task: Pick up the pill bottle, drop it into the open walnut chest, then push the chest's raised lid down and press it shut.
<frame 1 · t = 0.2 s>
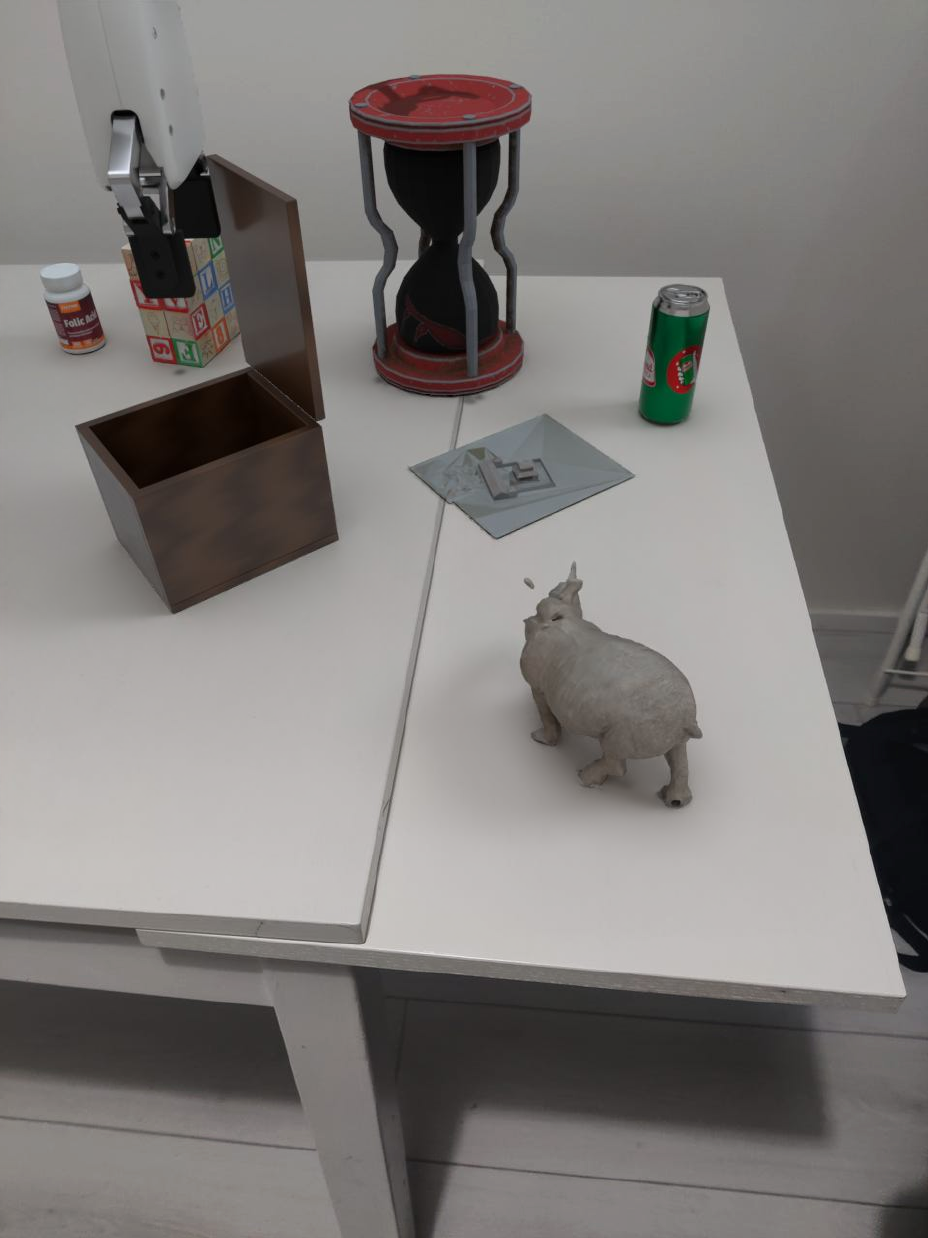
hand: (186, 264, 59), 22 cm above the table, tool pointing down, fingers open, 9 cm apart
soda can: (663, 415, 85), on the table
hourglass: (448, 360, 94), on the table
grey flat relief plate: (492, 503, 76), on the table
stack of blocks: (224, 322, 101), on the table
chest: (227, 538, 73), on the table
lid: (267, 291, 62), point 19 cm above the table, hinge at 90.8°
rhinoceros figurine: (587, 723, 58), on the table
pill bottle: (85, 346, 98), on the table
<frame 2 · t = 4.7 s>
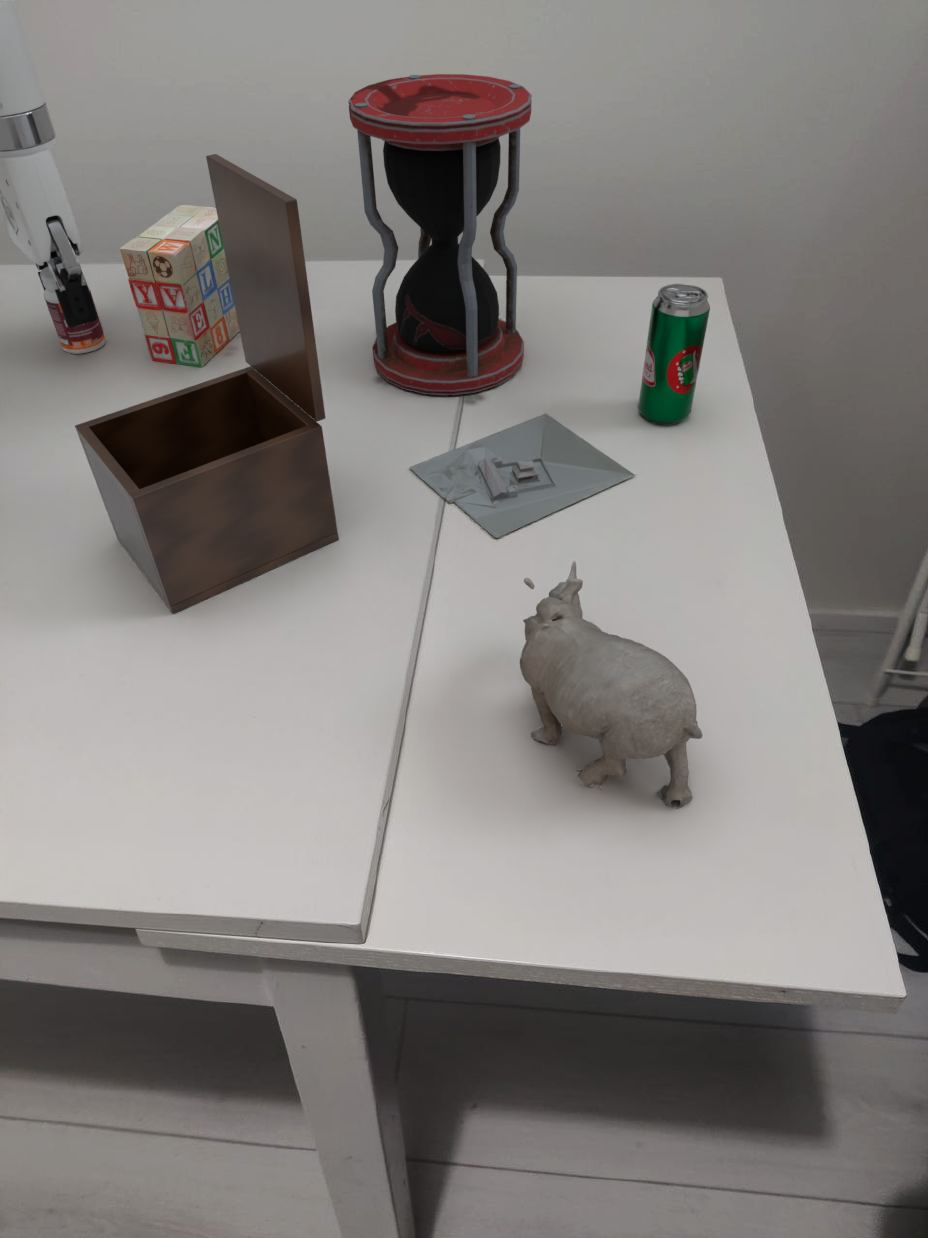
hand: (73, 311, 95), 4 cm above the table, tool pointing down, fingers closed on pill bottle, 4 cm apart
pill bottle: (85, 346, 98), on the table, touching gripper
everything else where it was.
when the fingers open (12 cm above the table, at t = 11.8 s): pill bottle drops 7 cm, resting on chest.
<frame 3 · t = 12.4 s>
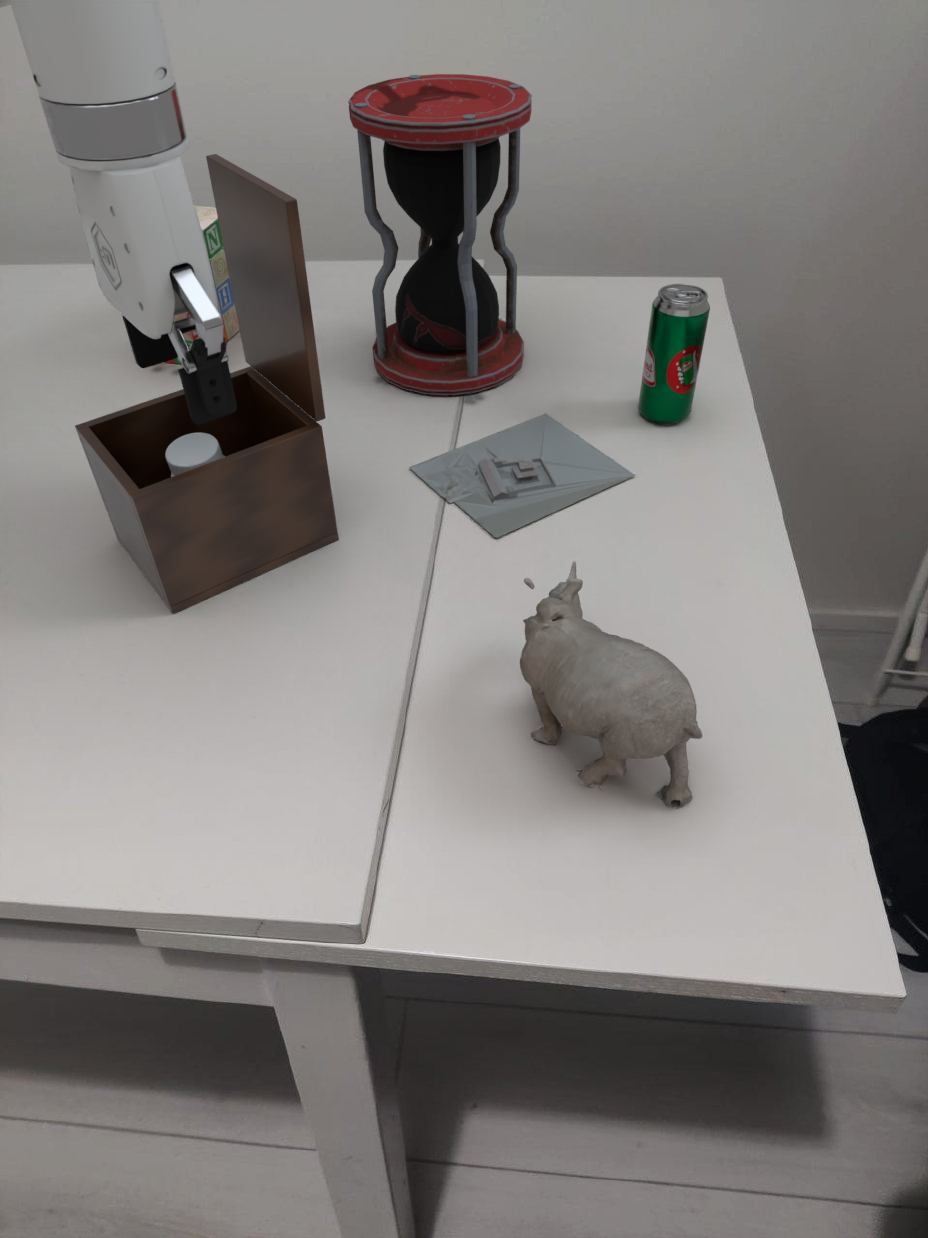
hand: (185, 387, 63), 14 cm above the table, tool pointing down, fingers open, 9 cm apart
pill bottle: (225, 530, 72), point 1 cm above the table, touching chest
everything else where it was.
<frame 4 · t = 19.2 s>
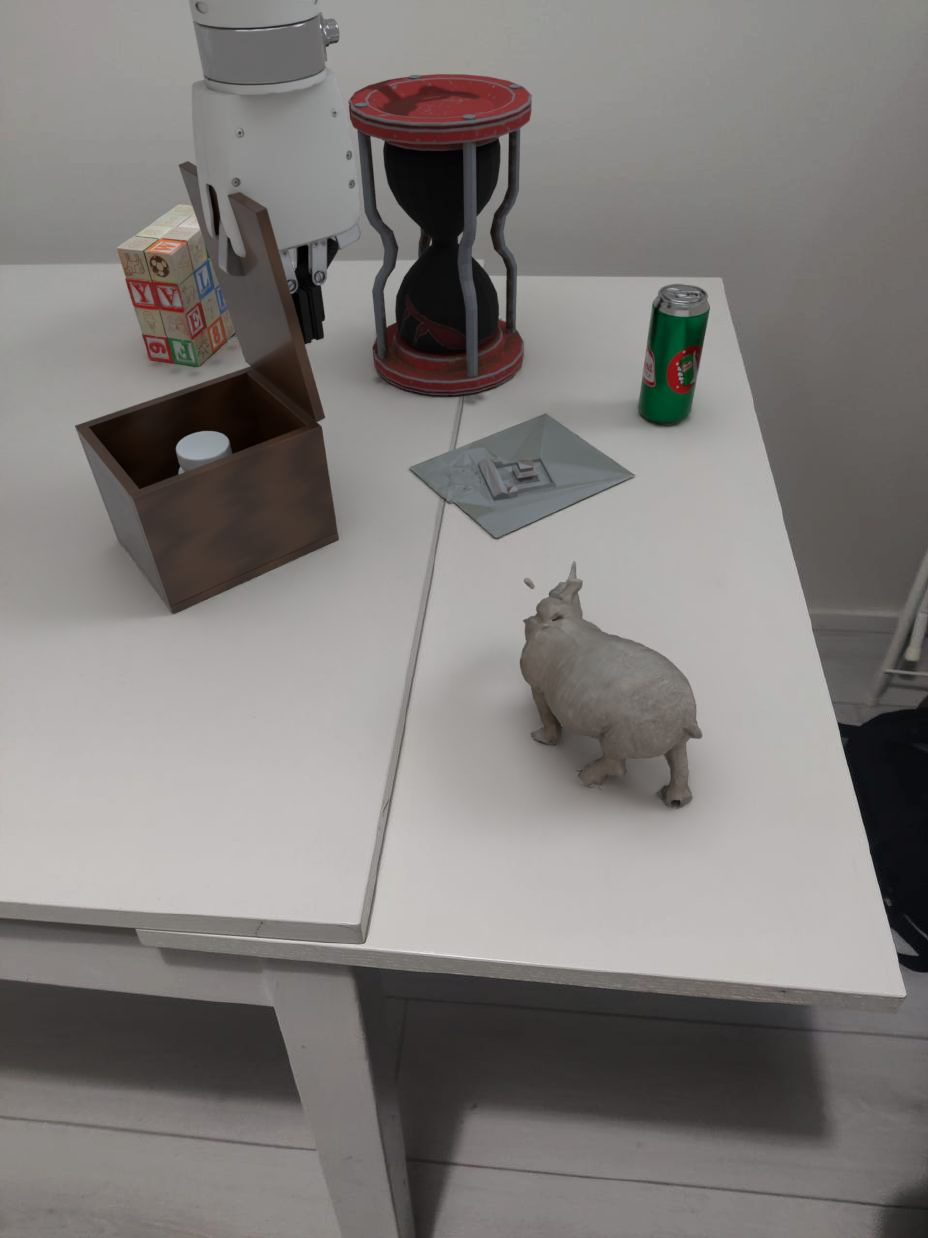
hand: (304, 334, 66), 15 cm above the table, tool pointing down, fingers closed
lid: (254, 296, 62), point 19 cm above the table, hinge at 83.0°, touching gripper
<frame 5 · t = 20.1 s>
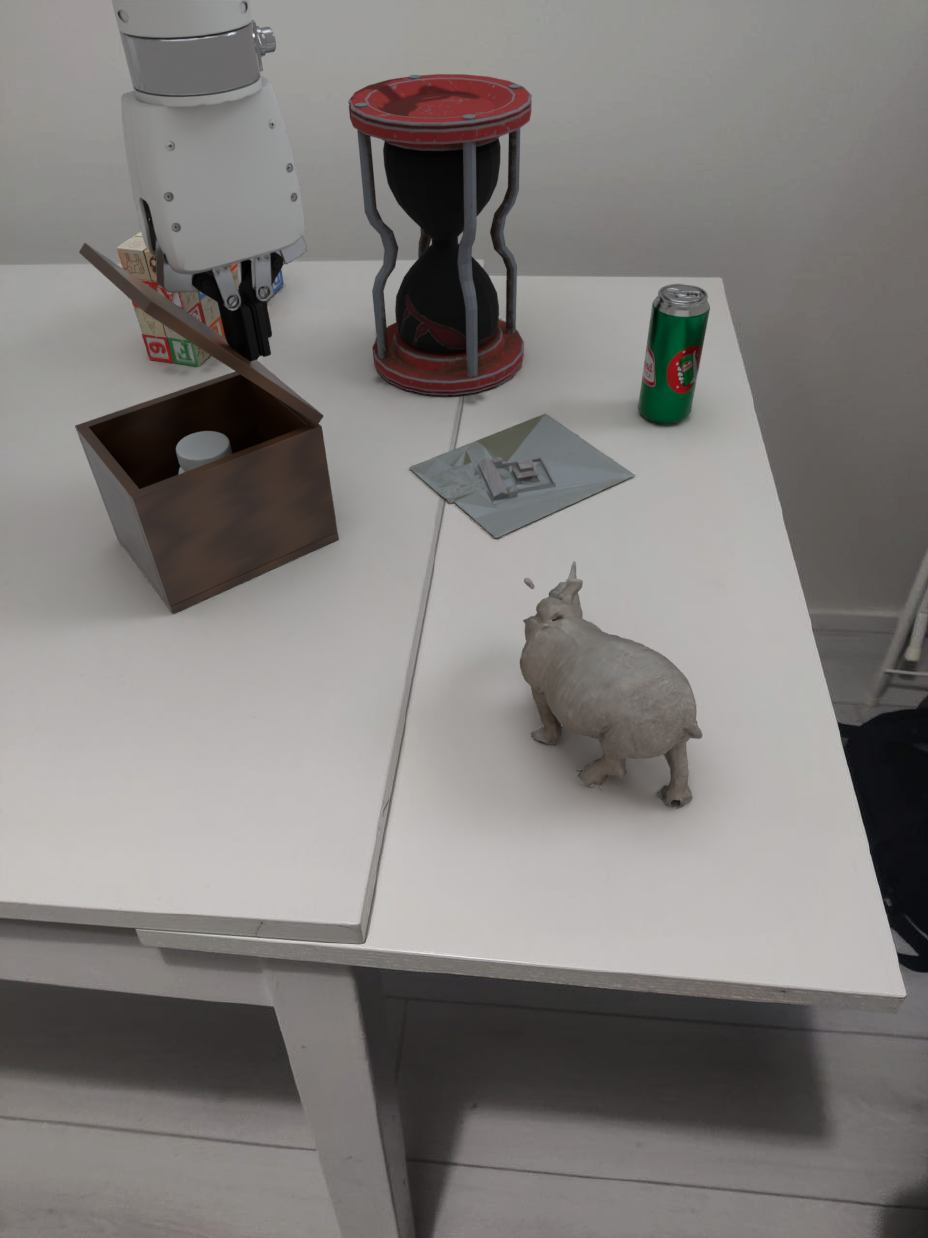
hand: (251, 351, 64), 15 cm above the table, tool pointing down, fingers closed
lid: (206, 337, 62), point 17 cm above the table, hinge at 48.8°, touching gripper
everything else where it was.
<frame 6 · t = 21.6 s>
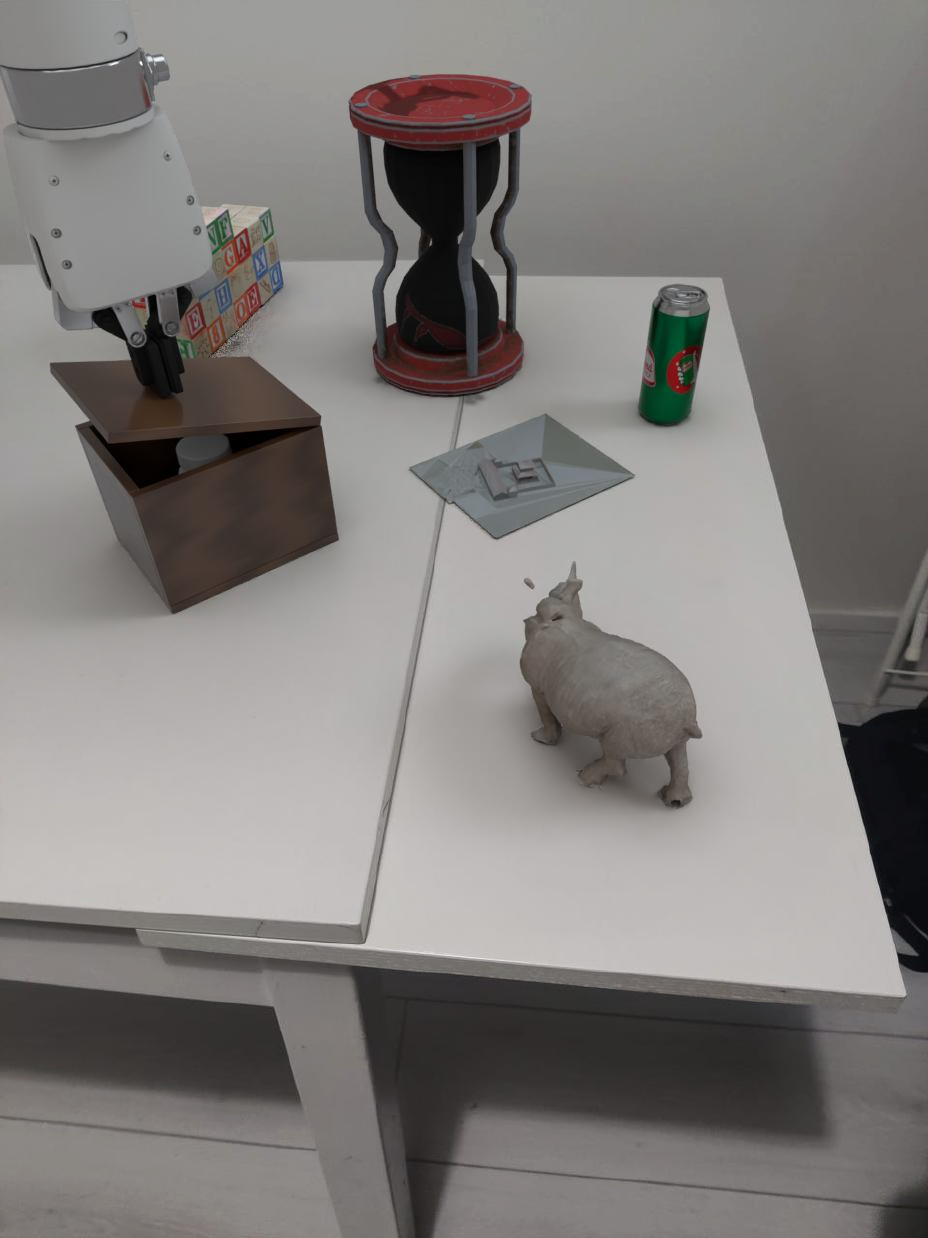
hand: (164, 387, 62), 15 cm above the table, tool pointing down, fingers closed
lid: (188, 394, 63), point 13 cm above the table, hinge at 16.2°, touching gripper
everything else where it was.
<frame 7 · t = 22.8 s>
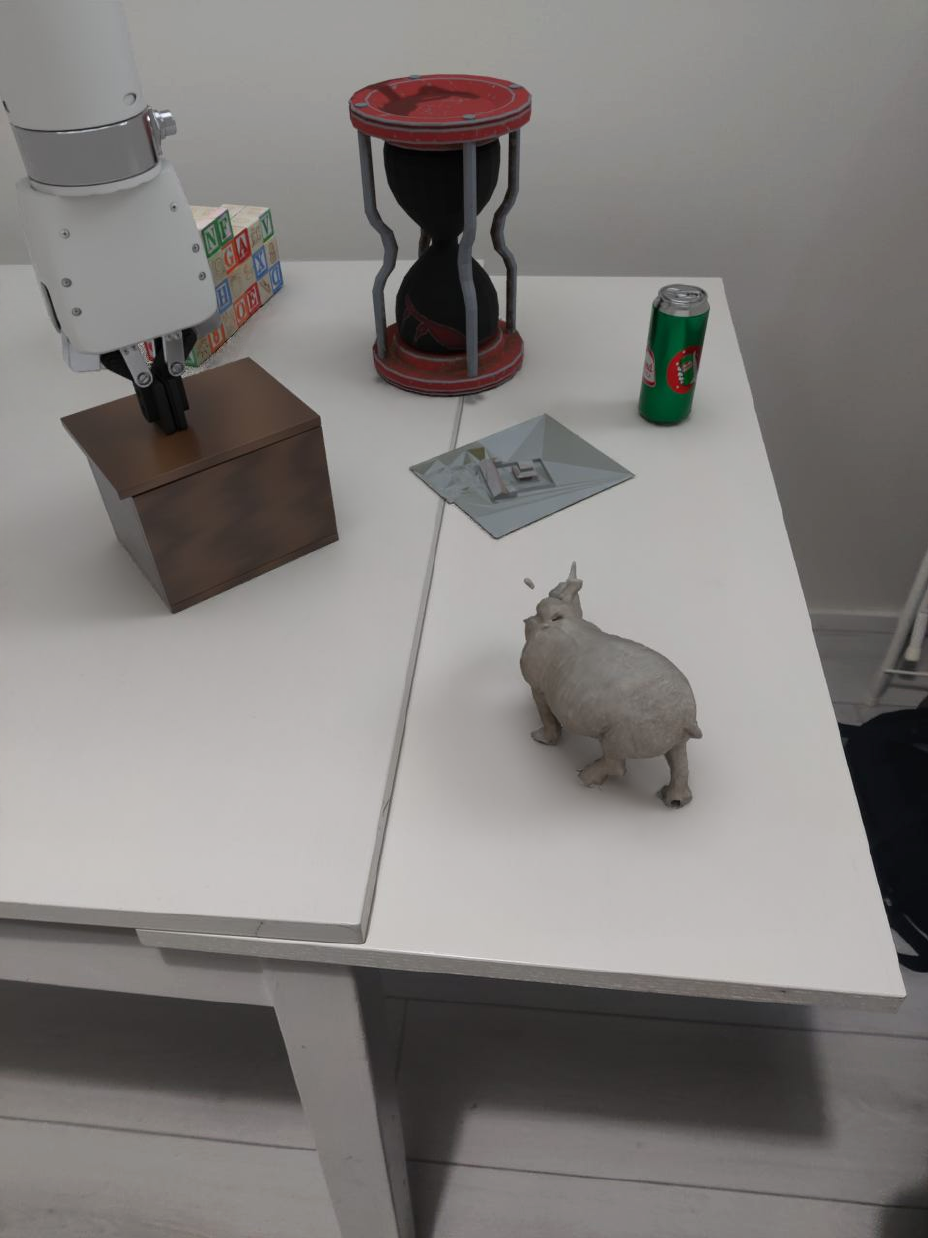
hand: (169, 423, 63), 12 cm above the table, tool pointing down, fingers closed
lid: (191, 421, 64), point 11 cm above the table, hinge at 0.4°, touching gripper
everything else where it was.
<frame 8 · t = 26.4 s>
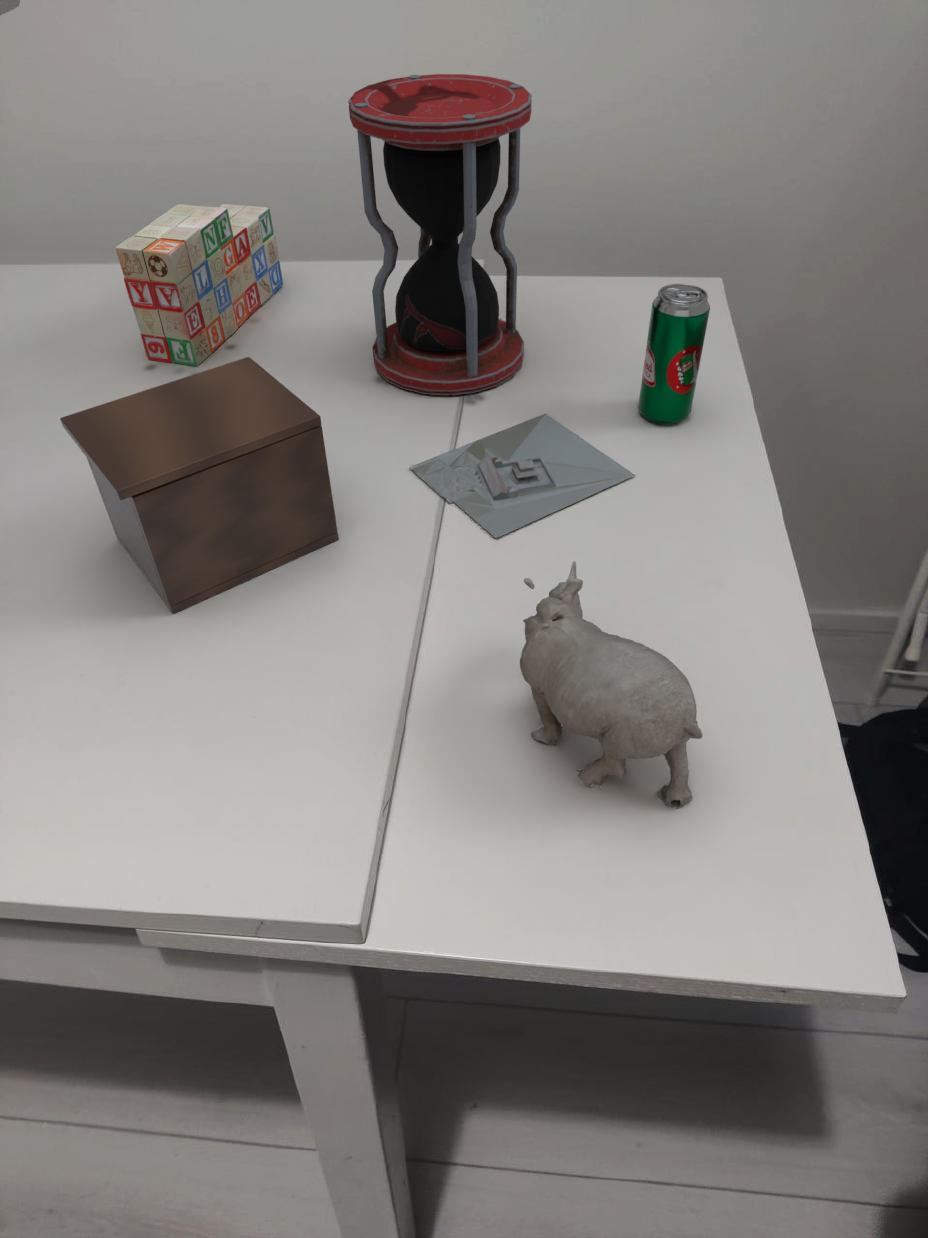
lid: (191, 421, 64), point 11 cm above the table, hinge at 0.4°
everything else where it was.
at the end: pill bottle inside the target area in the chest (0.1 cm from its centre), point 0.6 cm above the chest's base; lid at +0° (first picture: +91°) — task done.
